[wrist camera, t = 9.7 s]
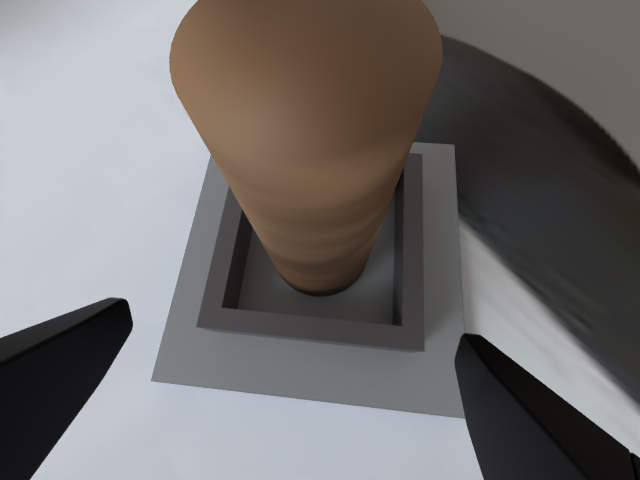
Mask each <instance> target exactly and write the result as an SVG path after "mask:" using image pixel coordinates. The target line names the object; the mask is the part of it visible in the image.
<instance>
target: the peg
mask: <svg viewBox="0 0 640 480" xmlns="http://www.w3.org/2000/svg"><path fill="white" fill-rule="evenodd" d="M442 55H443V52H442V40H441V36H440V33H439V29H438V27H437V24H436V22H435V20H434V17H433V16H432V14H431V13H430V11H429V10H428V8H427V7H426V5H425V4H424V3H423V2H422V1H421V0H198V1H197V2H196V3H195V4H194V5H193V7H192V8H191V9H190V10H189V11H188V13H187V14H186V15H185V17H184V18H183V19H182V21H181V23H180V25H179V27H178V29H177V31H176V33H175V36H174V39H173V41H172V45H171V51H170V74H171V79H172V83H173V86H174V88H175V91H176V93H177V96H178V97H179V99H180V101H181V103H182V104H183V106H184V108H185V110H186V111H187V113H188V115H189V117H190V118H191V120H192V122H193V124H194V125H195V127H196V129H197V131H198V132H199V134H200V136H201V138H202V139H203V141H204V143H205V145H206V146H207V148H208V150H209V152H210V153H211V155H212V157H213V159H214V160H215V162H216V164H217V166H218V167H219V169H220V171H221V173H222V174H223V176H224V178H225V180H226V181H227V183H228V185H229V187H230V188H231V190H232V192H233V194H234V195H235V197H236V199H237V201H238V202H239V204H240V206H241V208H242V209H243V211H244V213H245V215H246V216H247V218H248V220H249V222H250V223H251V225H252V227H253V229H254V230H255V232H256V234H257V236H258V237H259V239H260V241H261V243H262V244H263V246H264V248H265V250H266V251H267V253H268V255H269V257H270V258H271V260H272V262H273V264H274V265H275V267H276V269H277V271H278V272H279V274H280V276H281V277H282V279H283V280H284V281H285V282H286V283H287V284H288V285H289V286H290V287H292V288H293V289H294V290H296V291H298V292H300V293H302V294H305V295H309V296H314V297H327V296H332V295H335V294H338V293H341V292H343V291H345V290H346V289H348V288H349V287H351V286H352V285H353V284H354V283H355V282H356V281H357V280H358V279H359V277H360V276H361V274H362V272H363V270H364V268H365V266H366V263H367V261H368V258H369V255H370V253H371V250H372V248H373V245H374V243H375V240H376V237H377V235H378V232H379V230H380V227H381V224H382V222H383V219H384V217H385V214H386V211H387V209H388V206H389V204H390V201H391V199H392V196H393V193H394V191H395V188H396V186H397V183H398V180H399V178H400V175H401V173H402V170H403V167H404V165H405V162H406V160H407V157H408V154H409V152H410V149H411V147H412V144H413V142H414V139H415V136H416V134H417V131H418V129H419V126H420V123H421V121H422V118H423V116H424V113H425V110H426V108H427V105H428V103H429V100H430V98H431V95H432V92H433V90H434V87H435V85H436V82H437V79H438V76H439V72H440V69H441V64H442Z"/></svg>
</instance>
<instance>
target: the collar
mask: <svg viewBox="0 0 640 480" xmlns="http://www.w3.org/2000/svg"><path fill="white" fill-rule="evenodd" d="M463 334H464V318H463V299H462V280H461V261H460V242H459V224H458V205H457V186H456V167H455V149H454V145H451V144H435V143H419V142H413V144H412V147H411V149H410V152H409V154H408V157H407V160H406V162H405V165H404V167H403V170H402V173H401V175H400V178H399V180H398V183H397V186H396V188H395V191H394V193H393V196H392V199H391V201H390V204H389V206H388V209H387V211H386V214H385V217H384V219H383V222H382V224H381V227H380V230H379V232H378V235H377V237H376V240H375V243H374V245H373V248H372V250H371V253H370V255H369V258H368V261H367V263H366V266H365V268H364V270H363V272H362V274H361V276H360V277H359V279H358V280H357V281H356V282H355V283H354V284H353V285H352V286H351V287H349V288H348V289H346V290H345V291H343V292H341V293H338V294H335V295H332V296H327V297H314V296H309V295H305V294H302V293H300V292H298V291H296V290H294V289H293V288H292V287H290V286H289V285H288V284H287V283H286V282H285V281H284V280H283V279H282V277H281V276H280V274H279V272H278V271H277V269H276V267H275V265H274V264H273V262H272V260H271V258H270V257H269V255H268V253H267V251H266V250H265V248H264V246H263V244H262V243H261V241H260V239H259V237H258V236H257V234H256V232H255V230H254V229H253V227H252V225H251V223H250V222H249V220H248V218H247V216H246V215H245V213H244V211H243V209H242V208H241V206H240V204H239V202H238V201H237V199H236V197H235V195H234V194H233V192H232V190H231V188H230V187H229V185H228V183H227V181H226V180H225V178H224V176H223V174H222V173H221V171H220V169H219V167H218V166H217V164H216V162H215V160H214V159H213V157H212V155H211V156H210V160H209V164H208V168H207V171H206V175H205V179H204V183H203V186H202V190H201V194H200V198H199V202H198V205H197V209H196V213H195V217H194V220H193V224H192V228H191V232H190V235H189V239H188V243H187V247H186V250H185V254H184V258H183V262H182V266H181V269H180V273H179V277H178V281H177V284H176V288H175V292H174V296H173V299H172V303H171V307H170V311H169V314H168V318H167V322H166V326H165V330H164V333H163V337H162V341H161V345H160V348H159V352H158V356H157V360H156V363H155V367H154V371H153V375H152V379H151V381H154V382H162V383H171V384H179V385H187V386H196V387H204V388H213V389H221V390H229V391H238V392H246V393H254V394H263V395H271V396H280V397H288V398H296V399H305V400H313V401H321V402H330V403H338V404H346V405H355V406H363V407H372V408H380V409H388V410H397V411H405V412H413V413H422V414H430V415H439V416H447V417H455V418H464V419H465V415H464V410H463V405H462V400H461V395H460V390H459V386H458V381H457V376H456V371H455V365H454V360H455V355H456V352H457V348H458V345H459V341H460V338H461V336H462V335H463Z"/></svg>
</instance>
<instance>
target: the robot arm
mask: <svg viewBox="0 0 640 480" xmlns="http://www.w3.org/2000/svg"><path fill="white" fill-rule="evenodd" d="M132 327H133V321H132V317H131V312H130V308H129V304H128V302H127V300H125V299H123V298H112V297H111V298H107V299H104V300H101V301H99V302H96V303H93V304H91V305H88V306H85V307H83V308H80V309H77V310H75V311H72V312H69V313H66V314H64V315H61V316H58V317H56V318H53V319H50V320H48V321H45V322H42V323H39V324H37V325H34V326H31V327H29V328H26V329H23V330H21V331H18V332H15V333H13V334H10V335H7V336H4V337H2V338H0V480H30V479H31V478H32V476H33V475H34V473H35V472H36V471H37V469H38V468H39V467H40V465H41V464H42V462H43V461H44V460H45V458H46V457H47V456H48V454H49V453H50V451H51V450H52V449H53V447H54V446H55V445H56V443H57V442H58V441H59V439H60V438H61V436H62V435H63V434H64V432H65V431H66V430H67V428H68V427H69V425H70V424H71V423H72V421H73V420H74V419H75V417H76V416H77V414H78V413H79V412H80V410H81V409H82V408H83V406H84V405H85V403H86V402H87V401H88V399H89V398H90V397H91V395H92V394H93V393H94V391H95V390H96V388H97V387H98V385H99V384H100V383H101V381H102V379H103V378H104V376H105V375H106V373H107V371H108V370H109V368H110V366H111V365H112V363H113V361H114V360H115V358H116V356H117V355H118V353H119V351H120V350H121V348H122V346H123V345H124V343H125V341H126V340H127V338H128V336H129V335H130V333H131V331H132ZM454 365H455V371H456V376H457V381H458V386H459V390H460V395H461V400H462V405H463V410H464V415H465V419H466V424H467V427H468V431H469V434H470V438H471V441H472V444H473V447H474V450H475V453H476V456H477V460H478V463H479V466H480V469H481V472H482V475H483V478H484V480H640V458H639V457H638V456H637V455H635V454H634V453H630V452H629V450H628V449H627V448H626V447H625V446H623V445H622V444H621V443H620V442H618V441H617V440H616V439H614V438H613V437H612V436H610V435H609V434H608V433H607V432H605V431H604V430H603V429H601V428H600V427H599V426H598V425H596V424H595V423H594V422H592V421H591V420H590V419H588V418H587V417H586V416H585V415H583V414H582V413H581V412H579V411H578V410H577V409H576V408H574V407H573V406H572V405H570V404H569V403H568V402H566V401H565V400H564V399H563V398H561V397H560V396H559V395H557V394H556V393H555V392H553V391H552V390H551V389H550V388H548V387H547V386H546V385H544V384H543V383H542V382H541V381H539V380H538V379H537V378H535V377H534V376H533V375H531V374H530V373H529V372H528V371H526V370H525V369H524V368H522V367H521V366H520V365H519V364H517V363H516V362H515V361H513V360H512V359H511V358H509V357H508V356H507V355H506V354H504V353H503V352H502V351H500V350H499V349H498V348H497V347H495V346H494V345H493V344H491V343H490V342H489V341H487V340H486V339H485V338H484V337H482V336H481V335H478V334H468V333H464V334H463V335H462V336H461V338H460V341H459V345H458V348H457V352H456V355H455V360H454Z"/></svg>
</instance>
